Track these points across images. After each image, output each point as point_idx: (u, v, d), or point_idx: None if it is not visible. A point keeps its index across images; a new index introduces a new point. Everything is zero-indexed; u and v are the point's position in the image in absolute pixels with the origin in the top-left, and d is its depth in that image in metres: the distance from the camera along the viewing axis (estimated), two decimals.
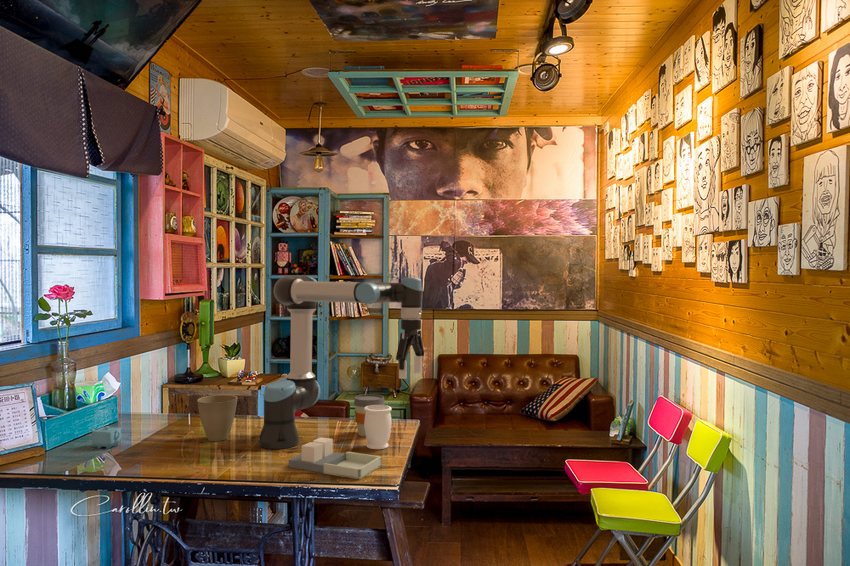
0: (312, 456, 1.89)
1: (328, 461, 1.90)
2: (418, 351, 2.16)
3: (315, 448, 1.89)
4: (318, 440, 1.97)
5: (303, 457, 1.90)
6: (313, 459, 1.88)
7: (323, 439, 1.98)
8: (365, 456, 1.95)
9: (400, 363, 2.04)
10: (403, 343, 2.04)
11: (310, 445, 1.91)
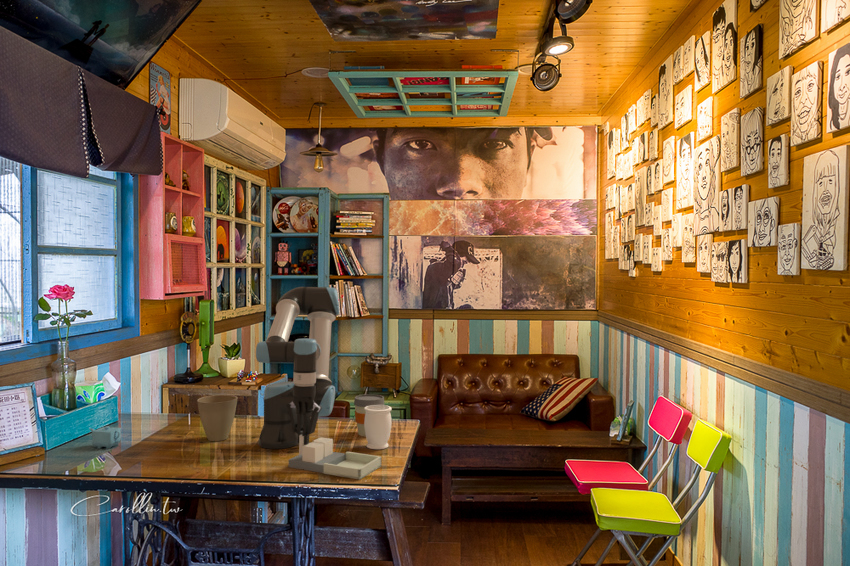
0: (313, 457, 1.88)
1: (328, 461, 1.90)
2: None
3: (316, 449, 1.89)
4: (318, 440, 1.97)
5: (304, 457, 1.90)
6: (314, 460, 1.88)
7: (323, 439, 1.98)
8: (365, 456, 1.95)
9: None
10: None
11: (311, 445, 1.91)
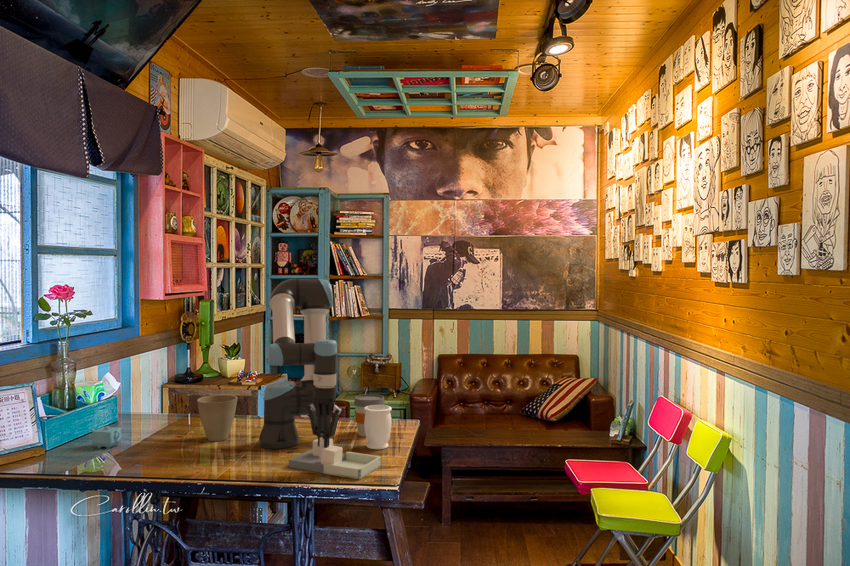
0: (332, 460, 1.85)
1: None
2: None
3: (335, 452, 1.86)
4: None
5: (323, 460, 1.87)
6: (333, 463, 1.85)
7: None
8: (365, 456, 1.95)
9: None
10: None
11: (330, 448, 1.88)
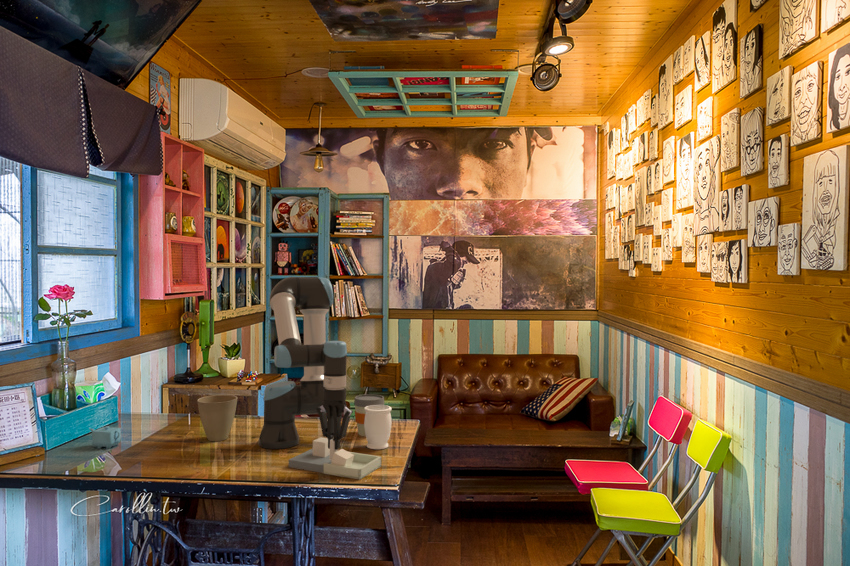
0: None
1: (328, 461, 1.90)
2: None
3: (347, 460, 1.84)
4: (318, 440, 1.97)
5: None
6: None
7: (323, 439, 1.98)
8: (365, 456, 1.95)
9: None
10: None
11: (343, 454, 1.86)
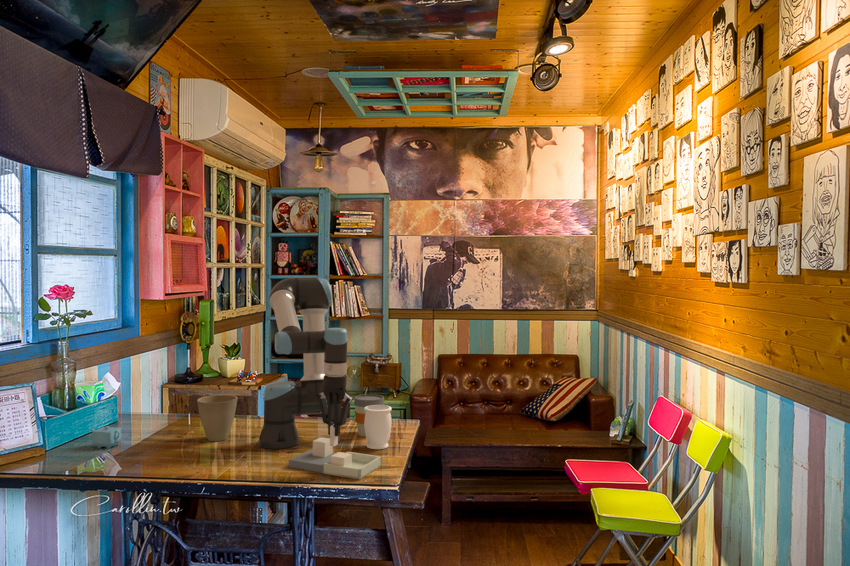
0: None
1: (328, 461, 1.90)
2: None
3: (345, 459, 1.84)
4: (318, 440, 1.97)
5: None
6: None
7: (323, 439, 1.98)
8: (365, 456, 1.95)
9: None
10: None
11: (340, 455, 1.86)
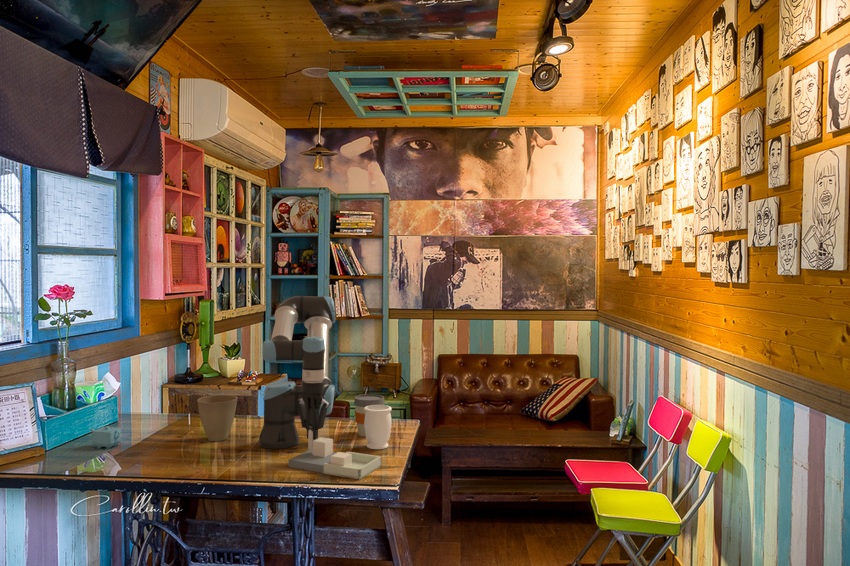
0: None
1: (328, 461, 1.90)
2: None
3: (345, 459, 1.84)
4: (318, 440, 1.97)
5: None
6: None
7: (323, 439, 1.98)
8: (365, 456, 1.95)
9: None
10: None
11: (340, 455, 1.86)
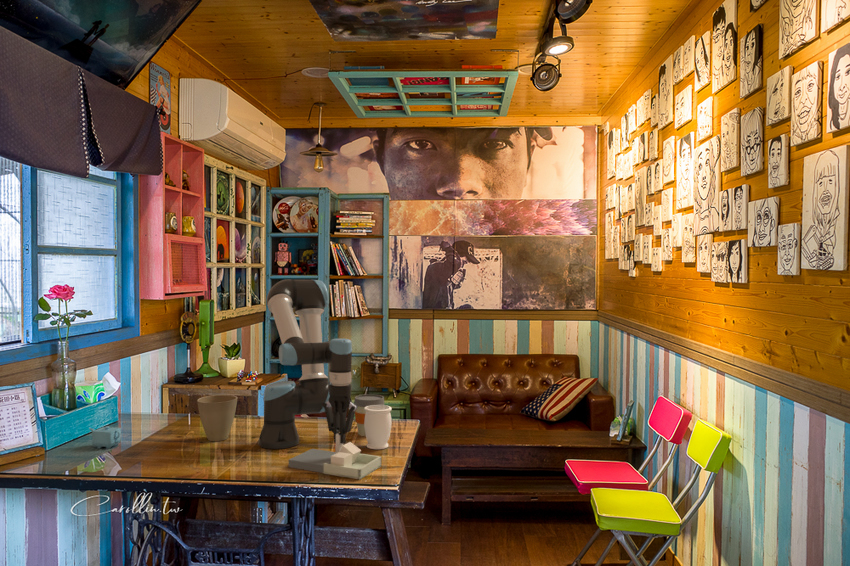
0: None
1: (328, 461, 1.90)
2: None
3: (345, 459, 1.84)
4: (347, 447, 1.92)
5: None
6: None
7: (352, 447, 1.94)
8: (365, 456, 1.95)
9: None
10: None
11: (340, 455, 1.86)
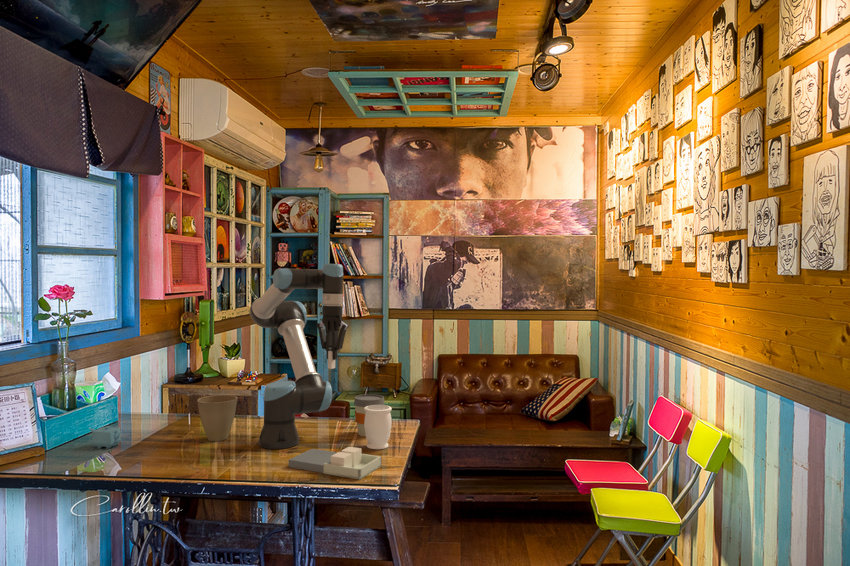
0: None
1: (328, 461, 1.90)
2: None
3: (345, 459, 1.84)
4: (347, 450, 1.92)
5: None
6: None
7: (352, 449, 1.94)
8: (365, 456, 1.95)
9: None
10: None
11: (340, 455, 1.86)
